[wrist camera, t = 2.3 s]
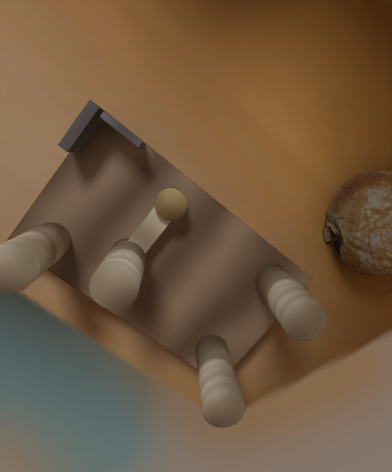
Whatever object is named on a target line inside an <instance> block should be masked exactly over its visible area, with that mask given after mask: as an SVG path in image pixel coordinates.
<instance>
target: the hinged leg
mask: <svg viewBox="0 0 392 472" xmlns="http://www.w3.org/2000/svg"><path fill="white" fill-rule="evenodd" d="M186 208H187V202H186V198H185V196H184V194H183V193H182V191H180V190H179V189H177V188H175V187H166V188H164V189H162V190H161V191H160V192H159V193H158V194H157V196H156V199H155V203H154V207H153V208H152V210H151V211H150V212H149V214H148V215H147V216H146V217H145V219H144V220H143V221H142V223H141V224H140V225H139V226H138V228H137V229H136V230H135V232H134V233H133V234H132V235H131V237H130V238H123V239H121V240H119V241H117V242H116V243H115V244H114V245H113V247H112V248H111V250H110V251H109V253H108V254H107V255H106V257H105V258H104V260H103V261H102V263H101V264H100V266H99V267H98V268H97V270H96V271H95V273H94V274H93V276H92V278H91V280H90V287H89V288H90V293H91V295H92V297H93V299H94V300H95V302H96V303H98V304H99V305H100V306H102V307H104V308H106V309H111V310H119V309H123V308H126V307H128V306H129V305H130V304H132V303H133V302H134V300H135V299H136V297H137V295H138V291H139V288H140V284H141V280H142V276H143V272H144V268H145V265H146V261H147V251H148V250H149V248H150V247H151V246H152V244H153V243H154V242H155V241H156V239H157V238H158V237H159V236H160V234H161V233H162V232H163V231H164V229H165V228H166V227H167V226H168V224H169V223H170V222H171V221H174V220H177V219H179V218H181V217H182V216H183V215H184V213H185V211H186Z"/></svg>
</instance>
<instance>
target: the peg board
mask: <svg viewBox="0 0 392 472" xmlns="http://www.w3.org/2000/svg"><path fill="white" fill-rule="evenodd" d="M58 145H59V146H60V147H61V148H63V149H64V150H65V151H67V152H70V153H69V154H68V155H67V157H66V158H65V160H64V161H63V162H62V164H61V165H60V167H59V168H58V169H57V171H56V172H55V174H54V175H53V176H52V178H51V179H50V181H49V182H48V183H47V185H46V186H45V188H44V189H43V190H42V192H41V193H40V195H39V196H38V197H37V199H36V200H35V202H34V203H33V204H32V206H31V207H30V209H29V210H28V211H27V213H26V214H25V216H24V217H23V218H22V220H21V221H20V223H19V224H18V225H17V227H16V228H15V230H14V231H13V232H12V234H11V235H10V237H9V238H8V239H7V241H6V242H5V243H3V244H0V291H2V292H7V293H15V292H19V291H22V290H24V289H25V288H27V287H28V286H29V285H30V284H31V283H32V282H34V281H35V280H36V279H37V278H38V277H39V276H41V275H42V274H43V273H44V272H45V271H46V270H49V271H50V272H52V273H53V274H55V275H56V276H58V277H59V278H61V279H62V280H64V281H65V282H67V283H68V284H70V285H71V286H73V287H74V288H76V289H77V290H79V291H80V292H82V293H83V294H85V295H86V296H88V297H89V298H91V299H92V300H94V299H93V297H92V295H91V293H90V288H89V287H90V280H91V278H92V276H93V274H94V273H95V271H96V270H97V268H98V267H99V266H100V264H101V263H102V261H103V260H104V258H105V257H106V255H107V254H108V253H109V251H110V250H111V248H112V247H113V245H114V244H115V243H116V242H117V241H119V240H121V239H123V238H130V237H131V235H132V234H133V233H134V232H135V230H136V229H137V228H138V226H139V225H140V224H141V223H142V221H143V220H144V219H145V217H146V216H147V215H148V214H149V212H150V211H151V210H152V208H153V207H154V203H155V199H156V196H157V194H158V193H159V192H160V191H161V190H162V189H164V188H166V187H175V188H177V189H179V190H180V191H182V193H183V194H184V196H185V198H186V202H187V208H186V211H185V213H184V215H183V216H182V217H181V218H179V219H177V220H174V221H171V222H170V223H169V224H168V226H167V227H166V228H165V229H164V231H163V232H162V233H161V234H160V236H159V237H158V238H157V239H156V241H155V242H154V243H153V244H152V246H151V247H150V248H149V250H148V251H147V261H146V265H145V268H144V272H143V276H142V280H141V284H140V288H139V291H138V295H137V297H136V299H135V300H134V302H133V303H132V304H130V305H129V306H128V307H126V308H123V309H119V310H111V309H107V310H109V311H110V312H112V313H113V314H115V315H116V316H118V317H119V318H121V319H122V320H124V321H125V322H127V323H128V324H130V325H131V326H133V327H134V328H136V329H137V330H139V331H140V332H142V333H143V334H145V335H146V336H148V337H149V338H151V339H152V340H154V341H155V342H157V343H158V344H160V345H161V346H163V347H164V348H166V349H167V350H169V351H170V352H172V353H173V354H175V355H176V356H178V357H179V358H181V359H182V360H184V361H185V362H187V363H188V364H190V365H191V366H193V367H194V368H196V369H197V370H198V378H199V387H200V395H201V404H202V412H203V416H204V418H205V420H206V421H207V422H208V423H209V424H211V425H213V426H216V427H229V426H232V425H234V424H236V423H237V422H238V421H239V420H240V419H241V418H242V416H243V415H244V412H245V403H244V400H243V396H242V393H241V390H240V386H239V383H238V380H237V376H236V373H235V369H234V366H235V365H236V364H237V363H238V362H239V361H240V360H241V359H242V357H243V356H244V355H245V354H246V353H247V352H248V351H249V350H250V348H251V347H252V346H253V345H254V344H255V343H256V342H257V341H258V340H259V338H260V337H261V336H262V335H263V334H264V333H265V332H266V331H267V329H268V328H269V327H270V326H271V325H272V324H273V323H274V322H275V321H276V319H277V320H278V321H279V323H280V324H281V326H282V328H283V329H284V331H285V332H286V333H287V335H288V336H290V337H291V338H293V339H295V340H299V341H305V340H310V339H312V338H314V337H316V336H317V335H319V334H320V333H321V332H322V330H323V329H324V327H325V325H326V322H327V314H326V311H325V309H324V307H323V306H322V305H321V304H320V303H319V302H318V301H317V300H316V299H315V298H314V297H313V296H312V295H311V294H310V293H309V292H308V291H307V290H306V289H305V287H306V286H307V285H308V284H309V283H310V281H311V280H312V278H311V277H310V276H309V275H307V274H306V273H305V272H304V271H303V270H301V269H300V268H299V267H298V266H297V265H295V264H294V263H293V262H292V261H290V260H289V259H288V258H287V257H285V256H284V255H283V254H282V253H280V252H279V251H278V250H277V249H276V248H274V247H273V246H272V245H271V244H269V243H268V242H267V241H266V240H264V239H263V238H262V237H261V236H259V235H258V234H257V233H256V232H254V231H253V230H252V229H251V228H250V227H248V226H247V225H246V224H245V223H243V222H242V221H241V220H240V219H238V218H237V217H236V216H235V215H233V214H232V213H231V212H230V211H228V210H227V209H226V208H225V207H224V206H222V205H221V204H220V203H219V202H217V201H216V200H215V199H214V198H212V197H211V196H210V195H209V194H207V193H206V192H205V191H204V190H202V189H201V188H200V187H199V186H198V185H196V184H195V183H194V182H193V181H191V180H190V179H189V178H188V177H186V176H185V175H184V174H183V173H181V172H180V171H179V170H178V169H177V168H175V167H174V166H173V165H172V164H170V163H169V162H168V161H167V160H165V159H164V158H163V157H162V156H160V155H159V154H158V153H157V152H155V151H154V150H153V149H152V148H151V147H149V146H148V145H147V144H146V143H144V142H143V141H142V140H141V139H139V138H138V137H137V136H136V135H134V134H133V133H132V132H131V131H129V130H128V129H127V128H126V127H125V126H123V125H122V124H121V123H120V122H118V121H117V120H116V119H115V118H113V117H112V116H111V115H110V114H108V113H107V112H106V111H104V110H103V109H102V108H100V107H99V106H98V105H96V104H95V103H94V102H92V101H91V100H89V102H88V103H87V104H86V106H85V107H84V109H83V110H82V112H81V113H80V114H79V116H78V117H77V119H76V120H75V121H74V123H73V124H72V126H71V127H70V129H69V130H68V131H67V133H66V134H65V136H64V137H63V138H62V140H61V141H60V143H59V144H58ZM94 301H95V300H94Z"/></svg>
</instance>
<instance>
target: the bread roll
mask: <svg viewBox="0 0 392 472" xmlns="http://www.w3.org/2000/svg"><path fill="white" fill-rule="evenodd" d="M326 221H327V223H326V225H327V226H325V227H324V228H323V233H324V238H325V240H326V242H327V243H328V242H331V244H332V246H333V248H334V249H335V251H336V253H337V254H338V256H339V257H340V258H341V261H343V262H344V263H345V264H346V265H348V266H349V267H350V268H351V269H353V270H355V271H357V272H359V273H363V274H367V275H387V274H392V172H386V171H384V170H380V171H373V172H369V173H363V174H361V175H358V176H356V177H354V178H352V179H351V180H349V181H347V182H346V183H345V185H344V186H343V187H342V188H341V189H340V191H338V192H337V195H336V197H335V198H334V200H333V201H332V203H331V204H330V206H329V209H328V211H327V219H326Z"/></svg>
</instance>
